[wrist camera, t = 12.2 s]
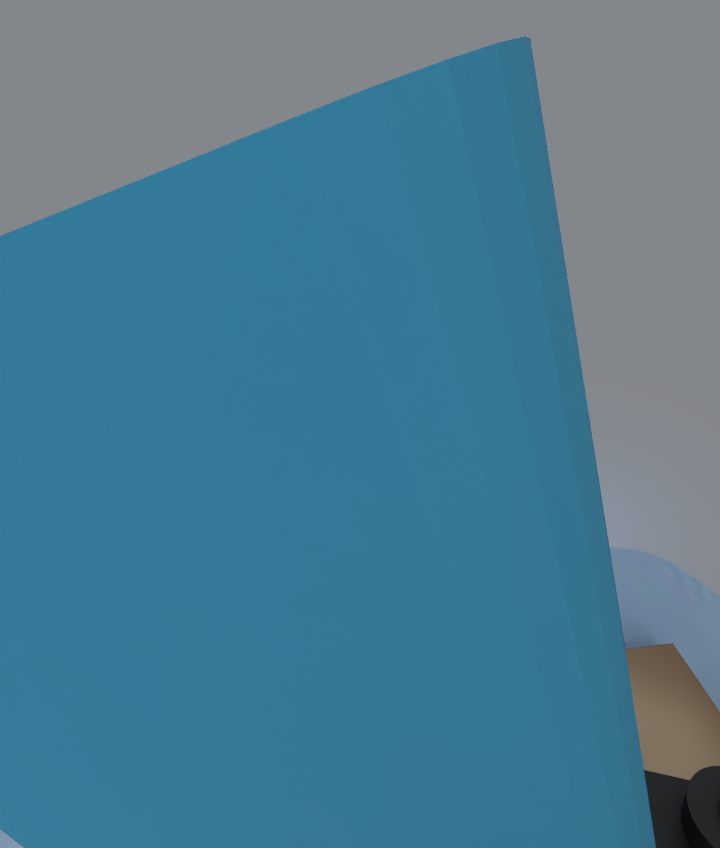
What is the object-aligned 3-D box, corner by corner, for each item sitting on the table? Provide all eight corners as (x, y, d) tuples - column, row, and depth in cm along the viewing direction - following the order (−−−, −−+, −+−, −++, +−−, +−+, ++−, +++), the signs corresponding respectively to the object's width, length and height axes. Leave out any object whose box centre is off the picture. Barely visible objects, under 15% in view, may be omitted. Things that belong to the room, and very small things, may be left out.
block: (411, 700, 22) (178, 207, 13) (530, 670, 21) (373, 131, 12) (480, 1231, 11) (-641, 497, 2) (726, 1201, 10) (627, -19, 1)
